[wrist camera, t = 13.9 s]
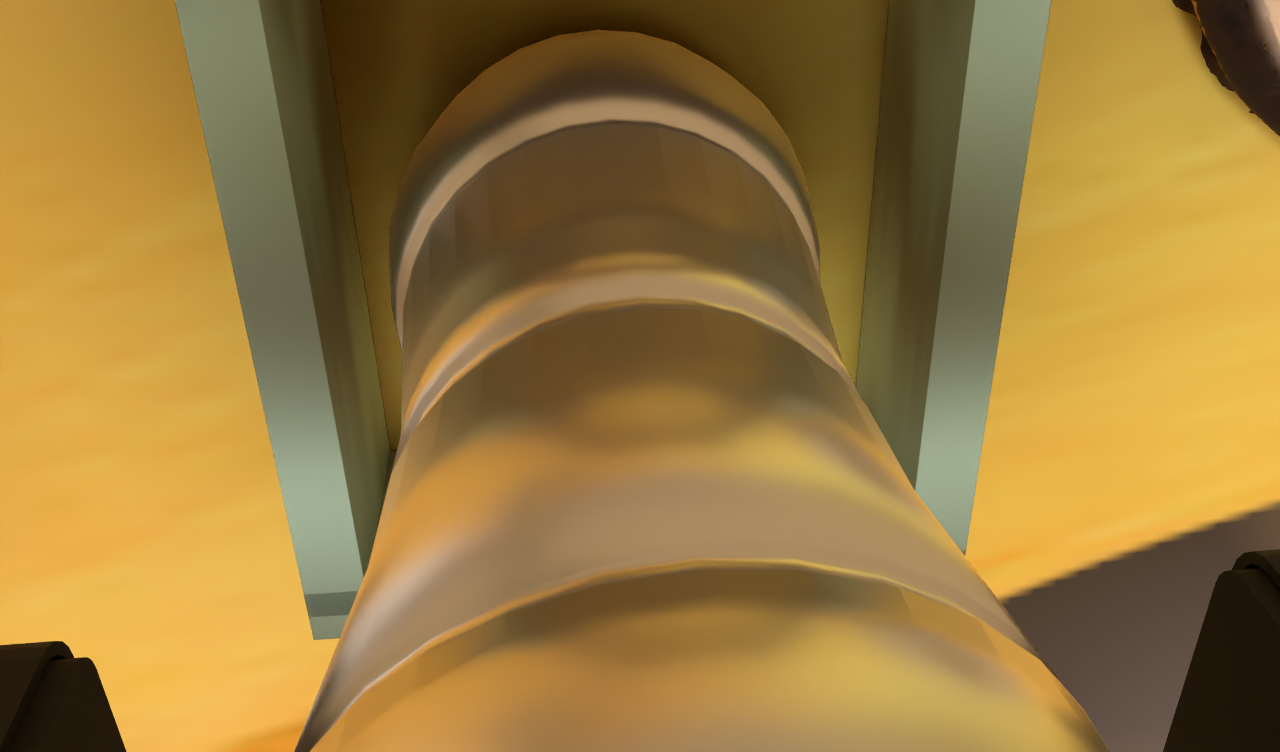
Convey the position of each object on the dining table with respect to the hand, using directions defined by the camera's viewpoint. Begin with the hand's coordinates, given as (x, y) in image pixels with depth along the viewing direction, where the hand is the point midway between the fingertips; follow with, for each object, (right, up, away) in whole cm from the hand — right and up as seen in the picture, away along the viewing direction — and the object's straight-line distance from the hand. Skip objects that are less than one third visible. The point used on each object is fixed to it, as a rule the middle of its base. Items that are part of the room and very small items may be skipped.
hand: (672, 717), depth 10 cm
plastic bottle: (-1, +6, +11) cm, 12 cm away
